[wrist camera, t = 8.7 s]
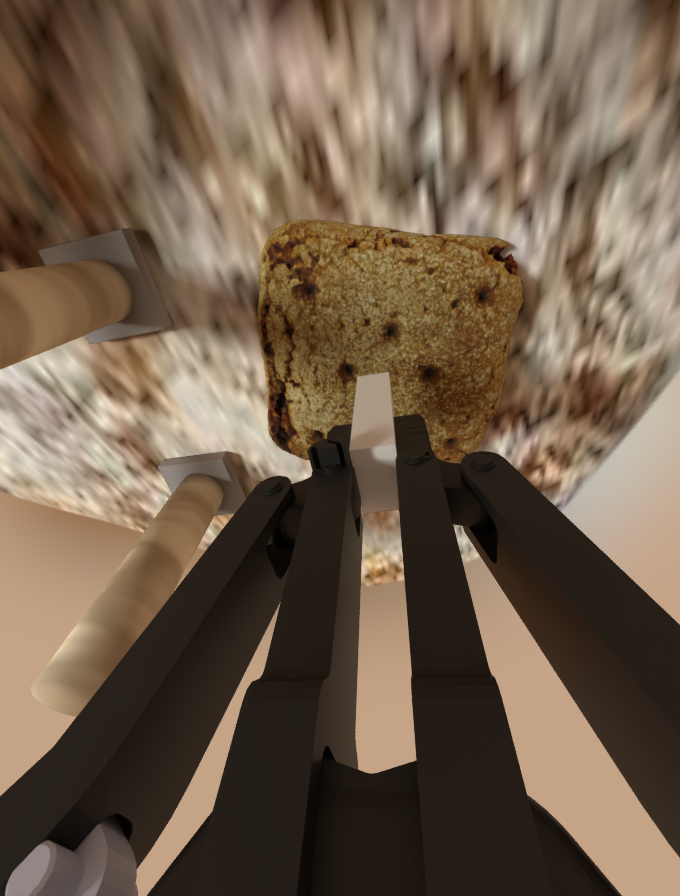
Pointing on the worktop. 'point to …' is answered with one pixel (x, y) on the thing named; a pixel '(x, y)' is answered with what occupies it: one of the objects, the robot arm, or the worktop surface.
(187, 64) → the worktop surface
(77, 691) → the post
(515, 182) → the worktop surface
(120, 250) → the post
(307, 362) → the pastry
